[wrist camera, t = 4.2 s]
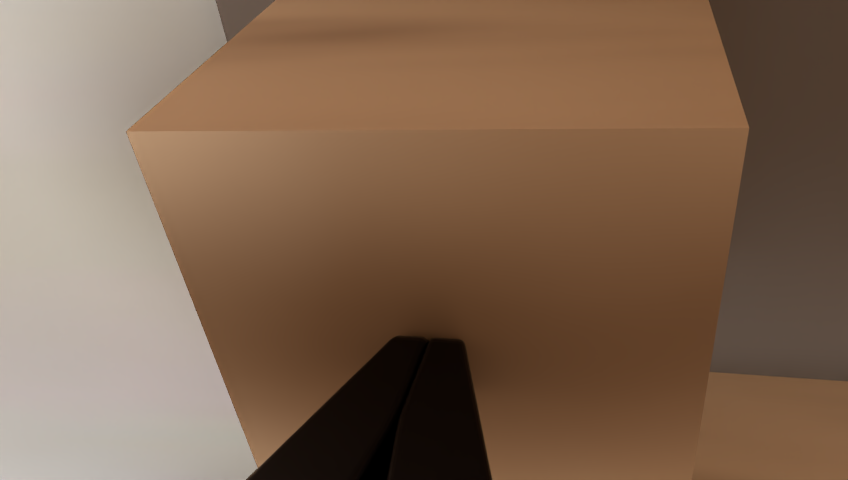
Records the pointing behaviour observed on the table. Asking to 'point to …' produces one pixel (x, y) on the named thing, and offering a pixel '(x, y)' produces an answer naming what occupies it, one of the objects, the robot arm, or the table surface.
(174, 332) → the table surface
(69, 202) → the table surface
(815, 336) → the mat
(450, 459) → the robot arm
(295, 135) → the plain block
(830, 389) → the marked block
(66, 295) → the table surface
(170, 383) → the table surface
